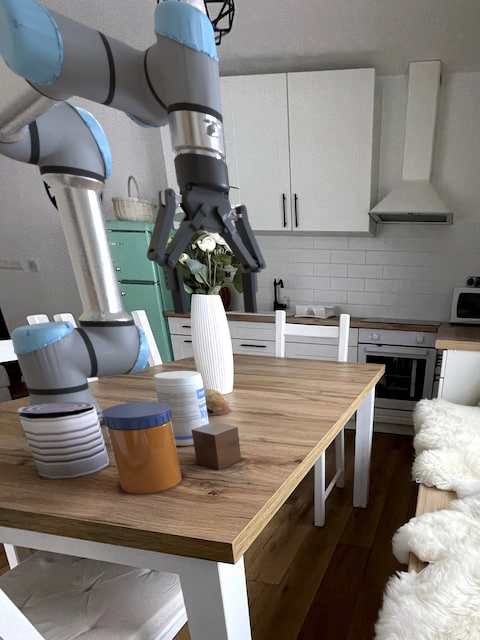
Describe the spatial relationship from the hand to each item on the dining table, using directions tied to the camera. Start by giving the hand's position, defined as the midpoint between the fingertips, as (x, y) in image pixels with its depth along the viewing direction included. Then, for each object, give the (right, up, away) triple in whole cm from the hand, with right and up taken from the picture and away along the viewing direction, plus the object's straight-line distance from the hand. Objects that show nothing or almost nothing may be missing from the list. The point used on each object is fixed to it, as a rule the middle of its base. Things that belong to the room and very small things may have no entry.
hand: (218, 313), depth 68 cm
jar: (-13, -29, +2) cm, 32 cm away
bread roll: (-18, -9, +43) cm, 48 cm away
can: (-30, -26, +7) cm, 40 cm away
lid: (-12, -17, -3) cm, 22 cm away
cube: (-4, -25, +11) cm, 28 cm away
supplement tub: (-15, -20, +22) cm, 33 cm away
